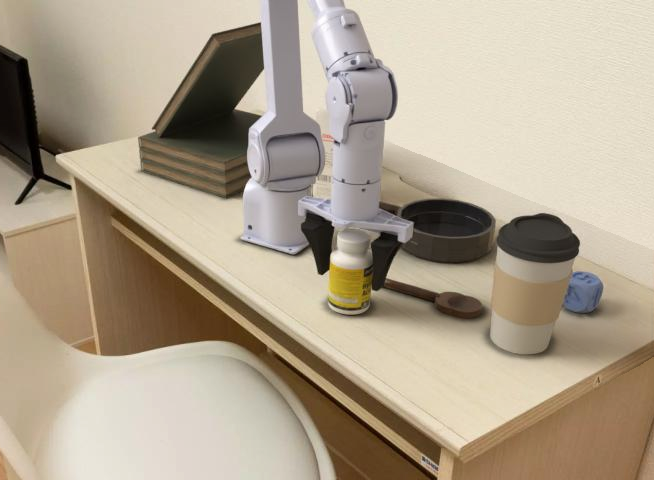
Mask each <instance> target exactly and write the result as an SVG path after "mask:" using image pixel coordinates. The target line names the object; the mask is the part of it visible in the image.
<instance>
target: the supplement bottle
mask: <svg viewBox="0 0 654 480" xmlns="http://www.w3.org/2000/svg"><path fill="white" fill-rule="evenodd" d="M370 246H371V235H370V233H368V232H367V231H366V230H363V229H359V228H348V229H341V230H340V231H338V233H337V236H336V247H334V248H333V249H332V252H331V256H330V270H329V271H328V272H329V275H328V291H327V292H328V293H327V305H328V307H329V308H330V309H331V310H332V311H334V312H336V313H339V314H341V315H342V314H343V315H353V316H354V315H359V314H362V313H364V312H366V311H368V309H370V308H369V307H370V306H371V298H372V297H371V296H372V275H373V257H372V251H371V249H369V248H370Z"/></svg>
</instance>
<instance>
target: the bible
mask: <svg viewBox="0 0 654 480" xmlns="http://www.w3.org/2000/svg"><path fill="white" fill-rule="evenodd" d="M263 72H264V58H263V44H262V29H261V21H260V22H255V23H251V24H248V25H244V26H243V25H242V26H238V27H235V28H230V29H226V30H222V31H218V32H215V33H212V34H211V35H210V36H209V39H208V40H207V42H206V43H205V45H204V46H203V48H202V49H201V51H200V52H199V54H198V55H197V57H196V59H195V60H194V62H193V63H192V65H191V66H190V68H189V70H188V71H187V72H186V74H185V76H184V77H183V79H182V81H180V84H179V85H178V86H177V88H176V90H175V91H174V93H173V94H172V96H171V97H170V99H169V100H168V102H167V104H166V105H165V107H164V109H163V110H162V111H161V113H160V115H159V116H158V118H157V119H156V121H155V122H154V124H153V126H152V127H151V130H152V132H149V133H146V134H143V135H140V136H138V137H137V140H138V148H139V149H138V151H139V152H138V154H139V159H140V160H139V161H140V171H141V172H143V173H145V174H149V175H152V176H155V177H157V178H160V179H164V180H167V181H170V182H173V183H176V184H179V185H183V186H186V187H189V188H192V189H195V190H199V191H201V192H204V193H207V194H211V195H214V196H217V197H220V198H222V199H228V198H230V197H232V196H235V195H236V194H239V193H241V192H244V189H245V186H246V184H247V182H248V181H249V180H250V178H251V177H252V176H251V174H250V171H249V167H248V161H247V150H248V145H249V129H250V127H251V126H252V125H253V124H254V123H255V122H257V121H258V120H259V119H260V118H261V117H262V116H263V115H261V114H257V113H253V112H248V111H244V110H241V109H238V108H237V107H238V105H239V104H240V103H241V101H242V99H243V98H244V97H245V96H246V94H247V93H248V92H249V90H250V89H251V87H252V86H253V85H254V83H255V82H256V81H257V80H258V78H259V76H260V75H261V74H262V73H263ZM236 108H237V109H236ZM294 134H302V133H294ZM294 134H286V135H294ZM286 135H278V136H286ZM278 136H274V137H278Z"/></svg>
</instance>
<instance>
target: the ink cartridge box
mask: <svg viewBox="0 0 654 480" xmlns="http://www.w3.org/2000/svg"><path fill="white" fill-rule="evenodd" d="M315 121H316V122H317V123H318V124H319V125H320V129H321V137H322V142H323V145H324V148H325V156H326V160H325V167H324V169H323V171H322V173H321V175H320V176H318V177H316V184H312V197H315V198H324V199H331V188H332V164H333V139H334V138H333V137H331V136H330V130H329V115H328V111H327V109H324V108H317V109H316V110H315Z"/></svg>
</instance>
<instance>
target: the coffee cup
mask: <svg viewBox="0 0 654 480" xmlns="http://www.w3.org/2000/svg"><path fill="white" fill-rule="evenodd" d="M495 243H496V245H497V249H496V257H495V259H494V269H493V280H492V282H493V283H492V293H491V304H490V305H491V306H490V307H491V320H490V329H489V338H490V340H491V341H492V343H493V344H494V345H495V346H497V347H498V348H500V349H502V350H504V351H506V352H509V353H512V354H518V355H537V354H540V353H542V352H544V351H546V350H547V349H548V347H549V345H550V341H551V338H552V335H553V331H554V329H555V326H556V321H558V319H559V317H560V314H561V310H562V308H563V301H564V298H565V295H566V291H567V288H568V285H569V282H570V279H571V275H572V272H574V271H573V266H574V263H575V260H576V257H577V256H578V255H579V253H580V247H581V240H580V239H579V237H578V236H577V235H576V234H575V233H574V232H573V230H572V227H570V226H569V225H568V224H566V223H565V222H564V221H563V220H562V219H561V218H560V217H559V216H558V215H555V214H551V213H546V212H541V213H536V214H531V215H519V216H516V217H514V218H512V219H511V220H510V221H509V222H507V223H505V224H504V225H502V226H501V227H500V228H499V229H498V232H497V236H496V238H495Z"/></svg>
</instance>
